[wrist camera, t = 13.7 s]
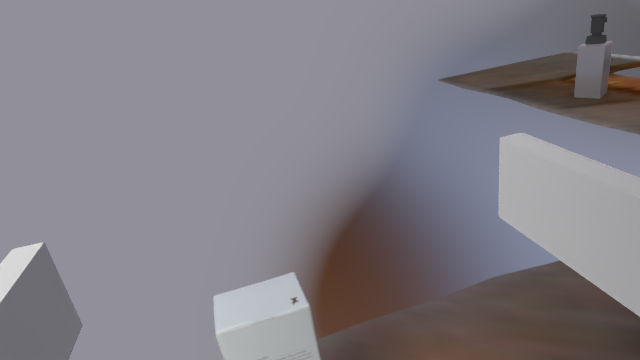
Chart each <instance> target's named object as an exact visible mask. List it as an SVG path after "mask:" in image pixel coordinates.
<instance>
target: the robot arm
mask: <svg viewBox="0 0 640 360" xmlns="http://www.w3.org/2000/svg"><path fill="white" fill-rule="evenodd" d="M499 159H500V160H499V161H500V162H499V217H500V218H501V219H503V220H504V221H506V222H507V223H508V224H510V225H511V226H513V227H514V228H515V229H517V230H518V231H520V232H521V233H522V234H524V235H525V236H527V237H528V238H530V239H531V240H533V241H534V242H535V243H537V244H538V245H539V246H541V247H542V248H544V249H545V250H547V251H548V252H550V253H551V254H552V255H554V256H555V257H556V258H558V259H559V260H561V261H562V262H563V263H565V264H566V265H568V266H569V267H570V268H572V269H573V270H575V271H576V272H577V273H579V274H580V275H582V276H583V277H584V278H586V279H587V280H589V281H590V282H592V283H593V284H594V285H596V286H597V287H599V288H600V289H601V290H603V291H604V292H606V293H607V294H608V295H610V296H611V297H613V298H614V299H615V300H617V301H618V302H620V303H621V304H623V305H624V306H625V307H627V308H628V309H630V310H631V311H632V312H634V313H635V314H637V315H638V316H639V317H640V178H639V177H636V176H634V175H631V174H629V173H626V172H623V171H621V170H618V169H616V168H613V167H610V166H608V165H605V164H603V163H600V162H597V161H594V160H592V159H590V158H587V157H584V156H582V155H579V154H577V153H574V152H571V151H569V150H566V149H564V148H561V147H559V146H556V145H553V144H551V143H548V142H545V141H543V140H540V139H538V138H535V137H533V136H530V135H527V134H525V133H517V134H513V135H509V136H504V137H500V158H499ZM81 328H82V323H81V321H80V318H79V316H78V314H77V312H76V310H75V308H74V306H73V303H72V301H71V299H70V297H69V295H68V292H67V290H66V288H65V286H64V284H63V282H62V279H61V277H60V275H59V273H58V271H57V269H56V266H55V264H54V262H53V260H52V258H51V256H50V253H49V251H48V249H47V247H46V245H45V242H42V243H38V244H33V245H29V246H25V247H20V248H16V249H13V250H11V252H10V253H9V254H8V255H7V257H6V258H5V259H4V260H3V261H2V263H1V264H0V360H68V359H69V357H70V355H71V352H72V350H73V347H74V345H75V342H76V340H77V337H78V335H79V333H80V330H81Z"/></svg>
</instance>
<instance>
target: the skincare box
mask: <svg viewBox="0 0 640 360" xmlns="http://www.w3.org/2000/svg"><path fill="white" fill-rule="evenodd" d="M213 299H214V321H215V335H216V338H217V341H218V344H219V347H220V350H221V353H222V356H223V358H224V360H321V356H320V352H319V347H318V342H317V337H316V333H315V328H314V324H313V318H312V313H311V307H310V304H309V302H308V300H307V298H306V296H305V293H304V291H303V289H302V287H301V285H300V282H299V280H298V278H297V275H296V274H295V272H291V273H288V274H285V275H282V276H279V277H276V278H273V279H269V280H266V281H263V282H259V283H256V284H252V285H249V286H246V287H243V288H239V289H235V290H232V291H229V292H225V293H222V294H219V295H215V296H214V297H213Z"/></svg>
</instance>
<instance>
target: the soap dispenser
mask: <svg viewBox="0 0 640 360" xmlns="http://www.w3.org/2000/svg"><path fill="white" fill-rule="evenodd" d="M605 17H606V14H599V15H592V16H591V18H592V22H591V33H592V35H591V36H587V39H586V42H585V43H584V44H582V45H580V46H579V47H578V58H577V70H576V82H575V94H574V97H577V98H597V99H600V98H601V97H602V96H603V95H605V94H606V93H607V86H608V77H609V68H610V60H611V50H612V41H606V35H601V33H602V32H604V23H605V22H607V18H605Z"/></svg>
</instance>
